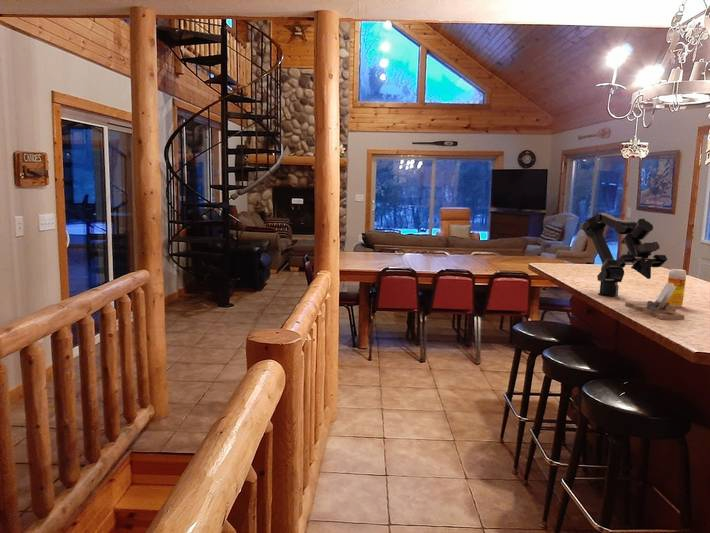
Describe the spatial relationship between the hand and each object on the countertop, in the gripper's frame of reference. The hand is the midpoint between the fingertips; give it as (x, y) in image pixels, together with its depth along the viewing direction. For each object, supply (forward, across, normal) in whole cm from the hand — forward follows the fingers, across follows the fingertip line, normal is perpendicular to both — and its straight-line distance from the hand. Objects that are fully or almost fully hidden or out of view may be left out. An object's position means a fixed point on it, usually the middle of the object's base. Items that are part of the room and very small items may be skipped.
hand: (649, 278), depth 208 cm
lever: (+12, 0, +2) cm, 12 cm away
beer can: (+6, +16, +13) cm, 21 cm away
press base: (+12, 0, +6) cm, 13 cm away
